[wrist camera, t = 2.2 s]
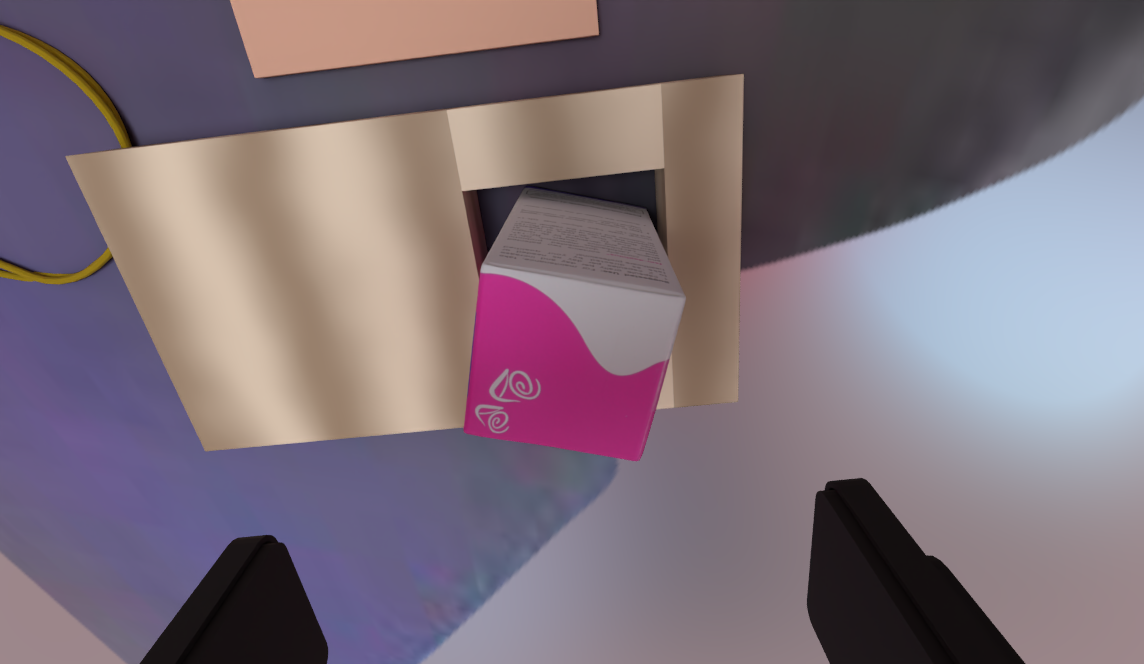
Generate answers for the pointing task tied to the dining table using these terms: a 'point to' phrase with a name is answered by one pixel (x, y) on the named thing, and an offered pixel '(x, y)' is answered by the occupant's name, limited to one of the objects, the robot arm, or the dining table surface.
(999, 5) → the dining table surface
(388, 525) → the dining table surface
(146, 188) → the wooden cutout board
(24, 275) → the extension cord
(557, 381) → the supplement box
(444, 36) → the mat
